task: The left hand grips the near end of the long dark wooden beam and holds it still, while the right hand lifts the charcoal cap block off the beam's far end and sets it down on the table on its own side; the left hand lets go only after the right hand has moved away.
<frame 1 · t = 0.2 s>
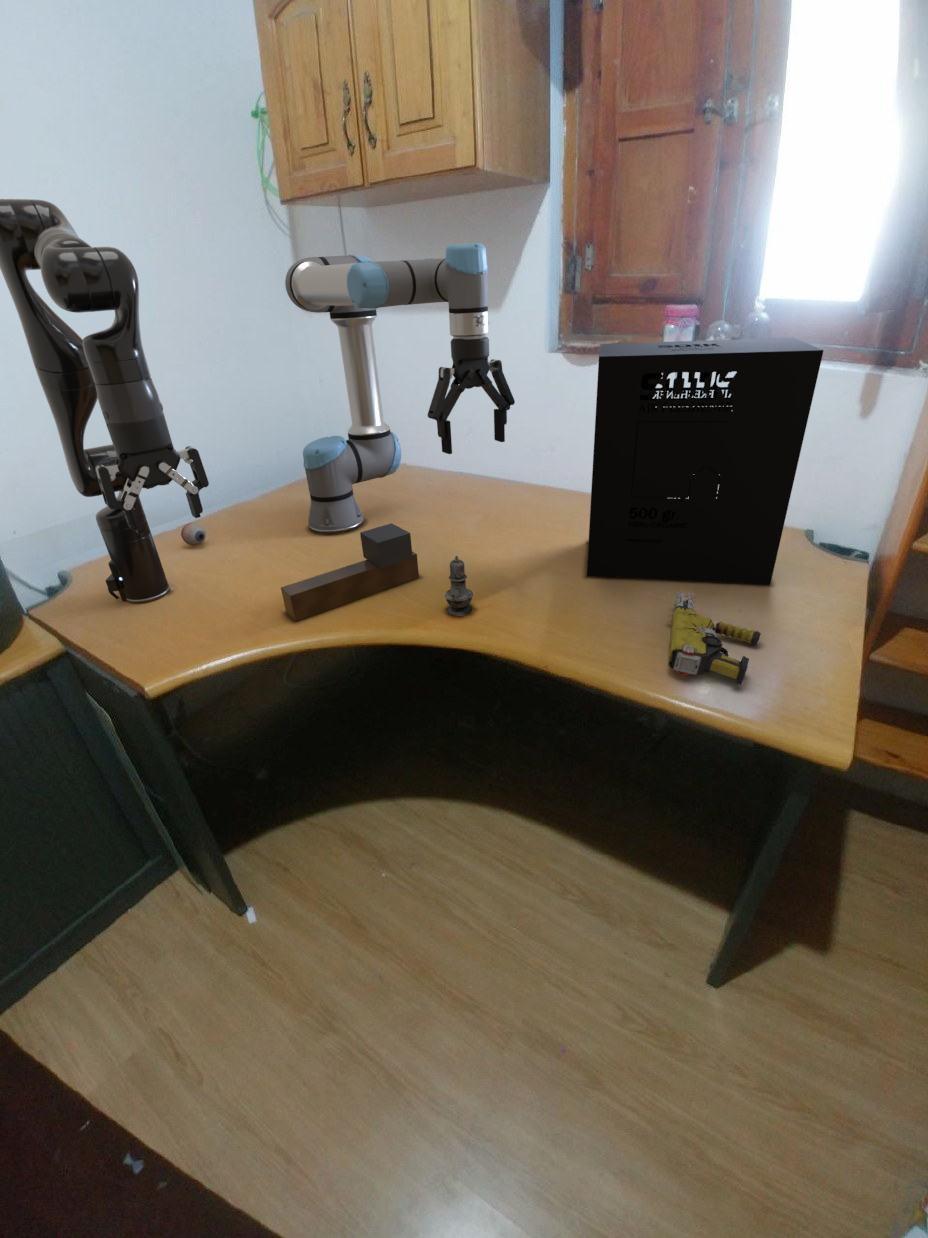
left hand: (168, 524, 92), 29 cm above the table, fingers open, 8 cm apart
right hand: (474, 446, 128), 28 cm above the table, fingers open, 13 cm apart
cardboard box: (671, 561, 138), on the table
toy gun: (713, 647, 107), on the table
eyeball: (197, 545, 162), on the table
dark wooden beam: (355, 594, 132), on the table, touching cap block
cap block: (388, 557, 133), point 6 cm above the table, touching dark wooden beam
salt shaker: (459, 610, 123), on the table
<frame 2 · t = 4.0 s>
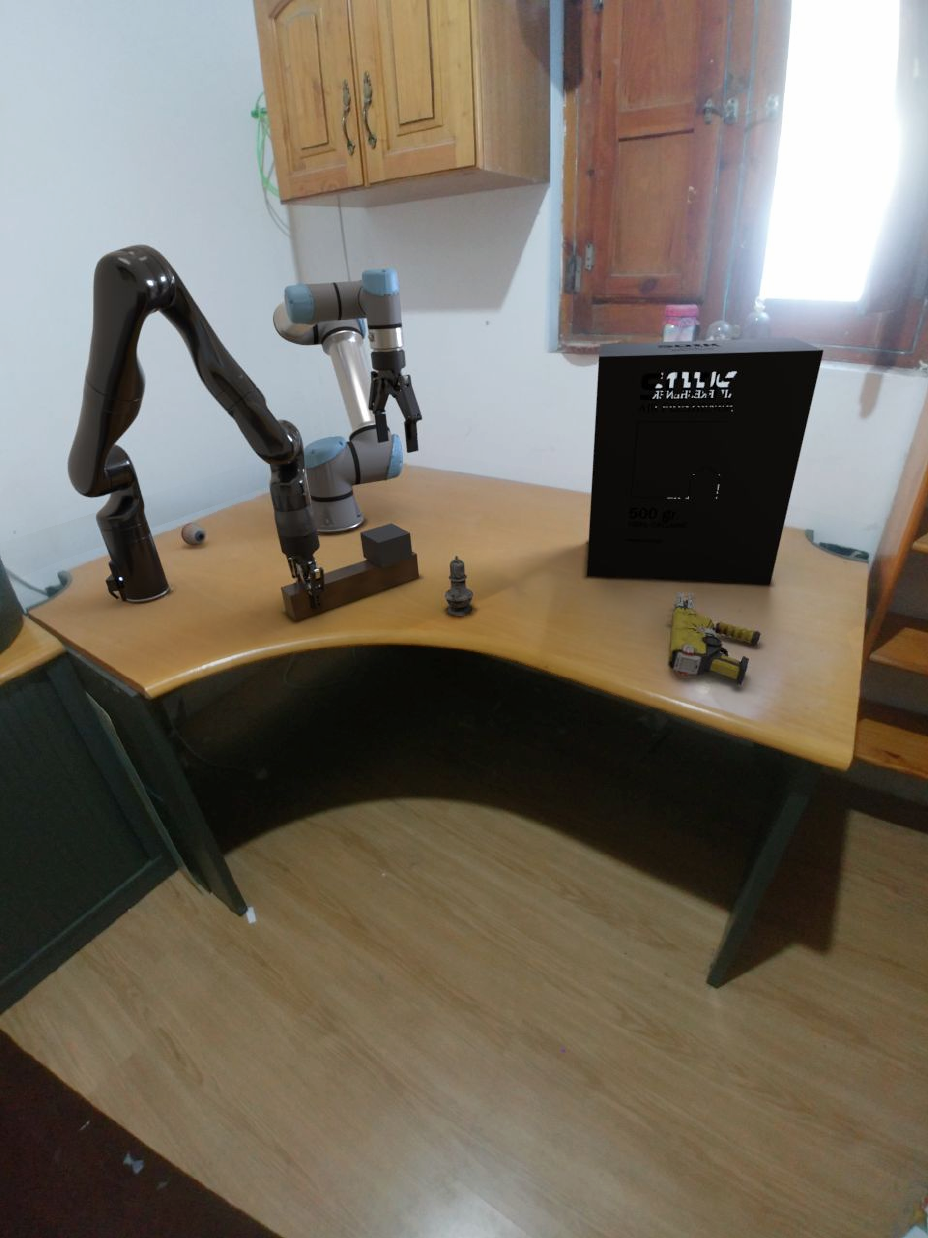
left hand: (312, 603, 126), 1 cm above the table, fingers closed on dark wooden beam, 5 cm apart
right hand: (397, 446, 143), 25 cm above the table, fingers open, 13 cm apart
dark wooden beam: (355, 594, 132), on the table, touching cap block, left hand
everything else where it was.
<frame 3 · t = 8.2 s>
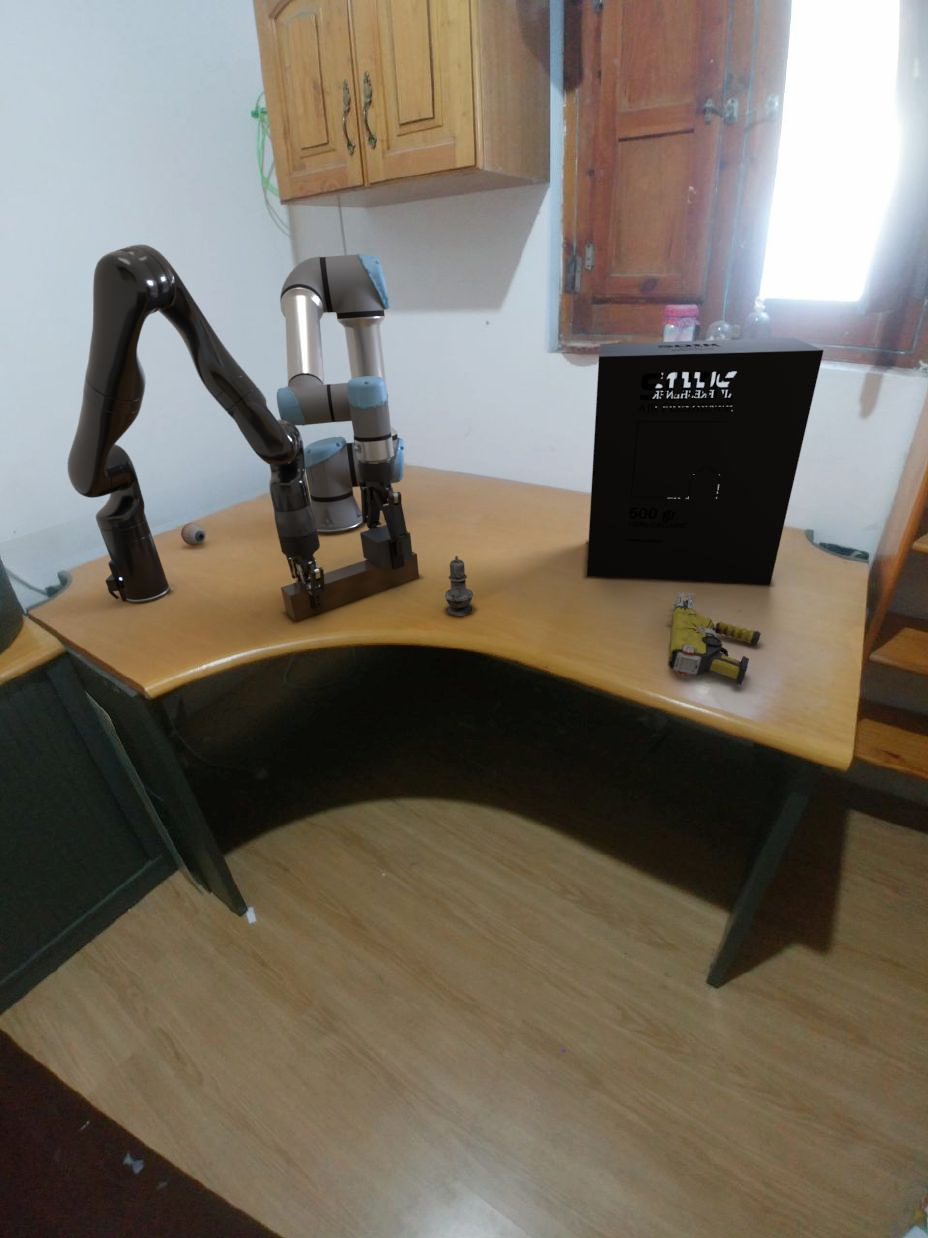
left hand: (312, 603, 126), 1 cm above the table, fingers closed on dark wooden beam, 5 cm apart
right hand: (388, 561, 134), 5 cm above the table, fingers closed on cap block, 8 cm apart
dark wooden beam: (355, 594, 132), on the table, touching cap block, left hand
cap block: (388, 557, 133), point 6 cm above the table, touching right hand, dark wooden beam
everything else where it was.
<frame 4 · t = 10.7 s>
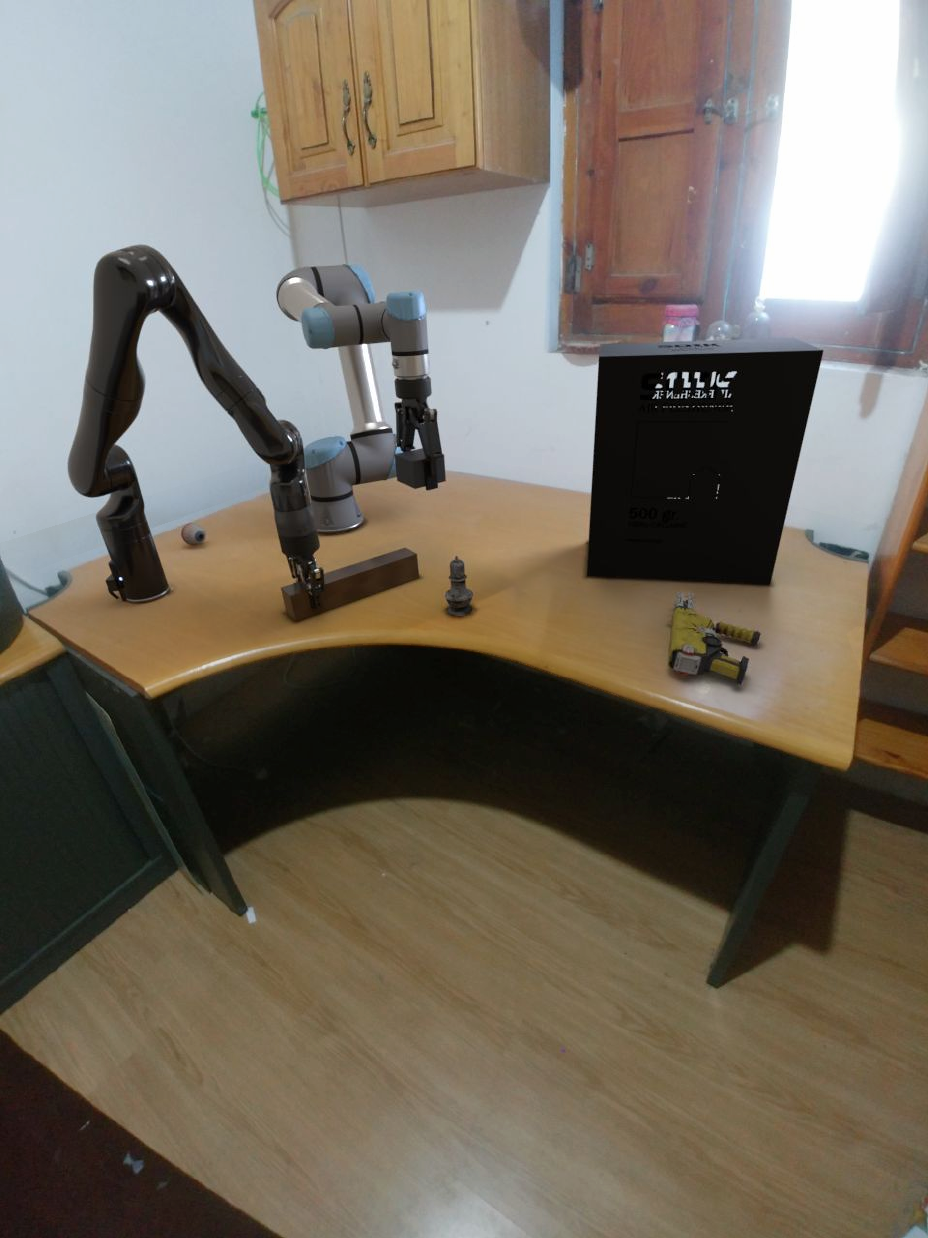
left hand: (312, 603, 126), 1 cm above the table, fingers closed on dark wooden beam, 5 cm apart
right hand: (421, 484, 135), 19 cm above the table, fingers closed on cap block, 8 cm apart
dark wooden beam: (355, 594, 132), on the table, touching left hand
cap block: (421, 481, 135), point 20 cm above the table, touching right hand
everything else where it was.
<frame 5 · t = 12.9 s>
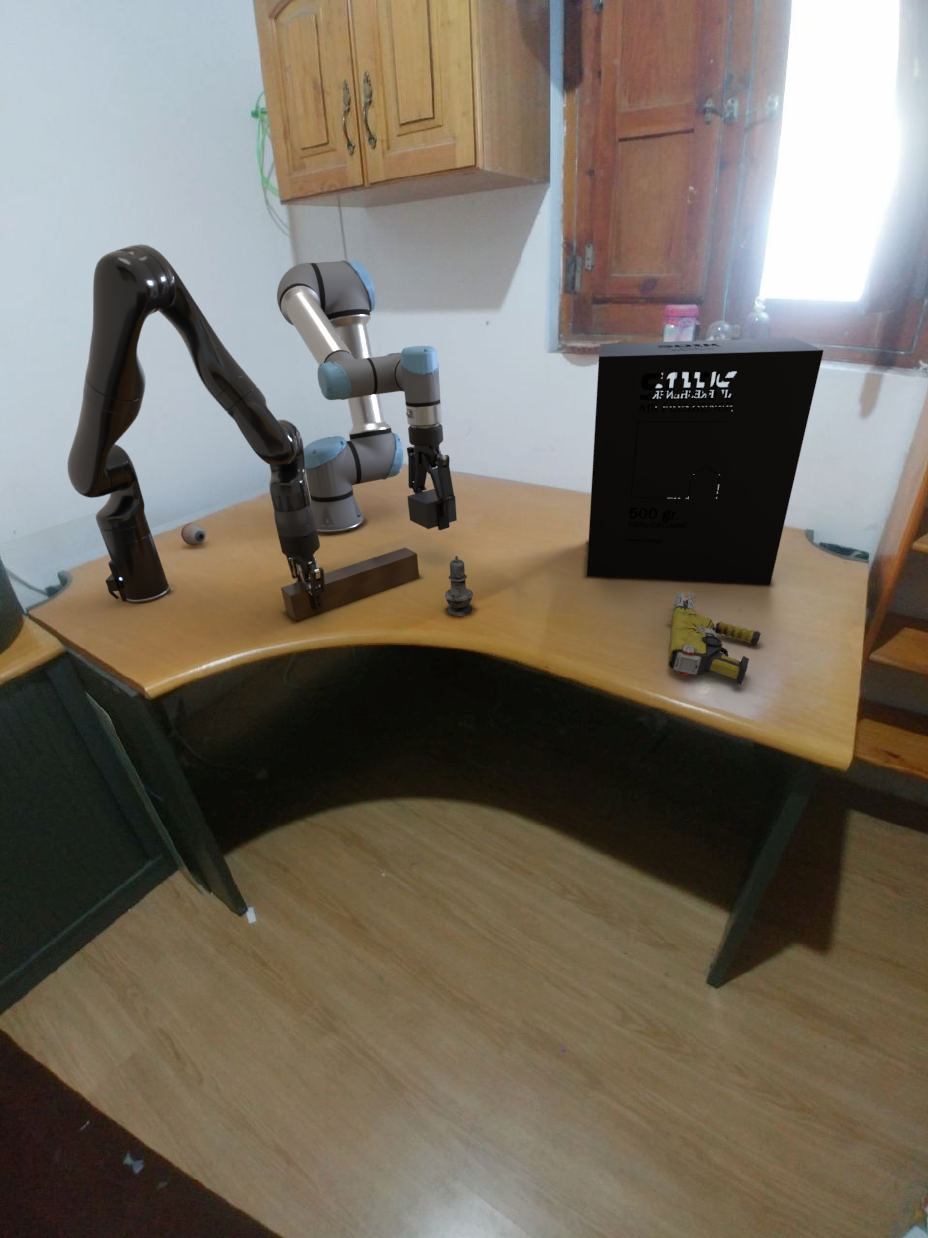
left hand: (312, 603, 126), 1 cm above the table, fingers closed on dark wooden beam, 5 cm apart
right hand: (433, 523, 142), 9 cm above the table, fingers closed on cap block, 8 cm apart
dark wooden beam: (355, 594, 132), on the table, touching left hand
cap block: (433, 520, 142), point 10 cm above the table, touching right hand
everything else where it was.
when the right hand's fingers open (2 cm above the table, at t = 14.7 s): cap block drops 3 cm, on the table.
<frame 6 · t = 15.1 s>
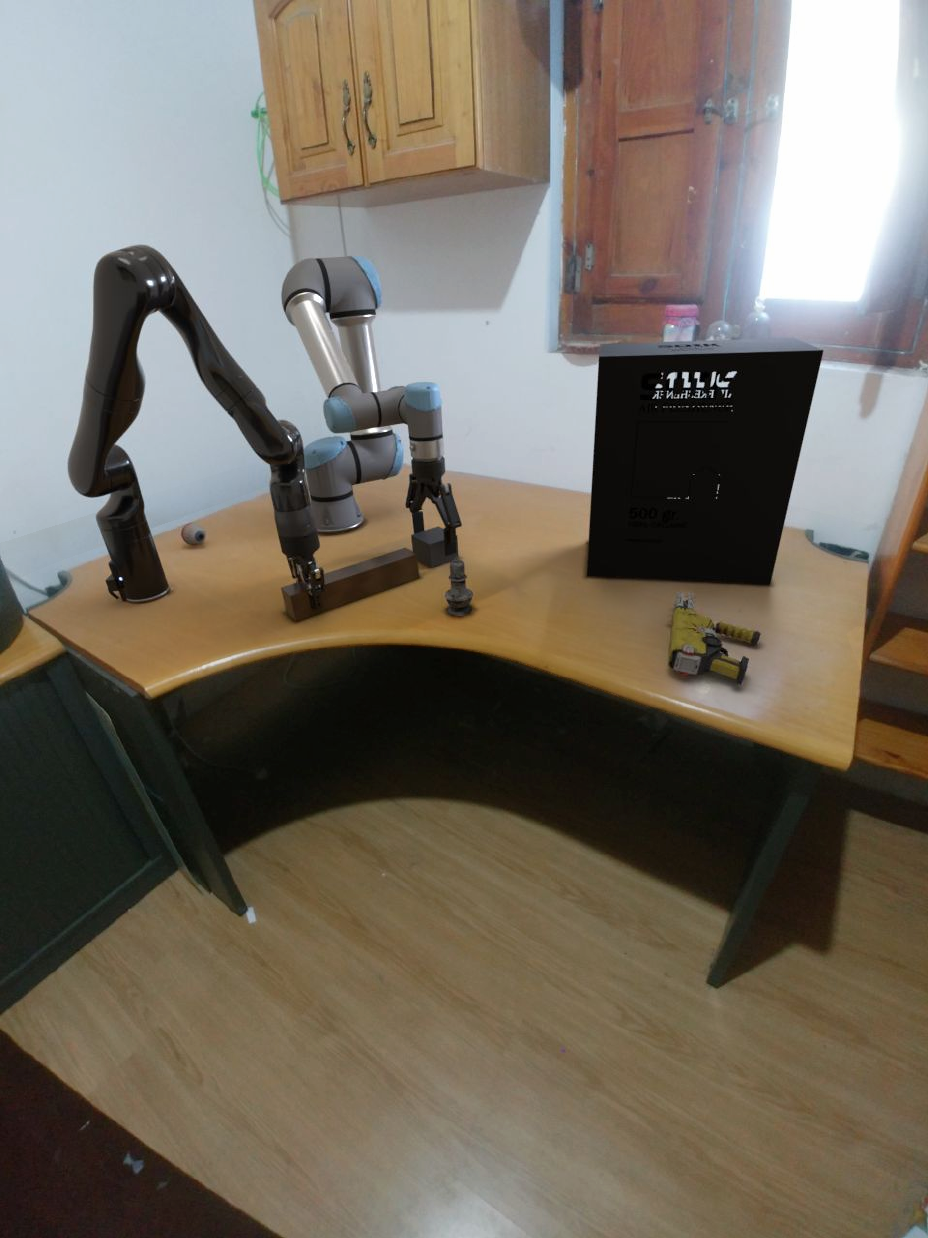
left hand: (312, 603, 126), 1 cm above the table, fingers closed on dark wooden beam, 5 cm apart
right hand: (434, 545, 145), 3 cm above the table, fingers open, 13 cm apart
dark wooden beam: (355, 594, 132), on the table, touching left hand
cap block: (435, 557, 147), on the table
everything else where it was.
when the left hand's fingers open (1 cm above the table, at t = 17.9 s): dark wooden beam stays where it is, on the table.
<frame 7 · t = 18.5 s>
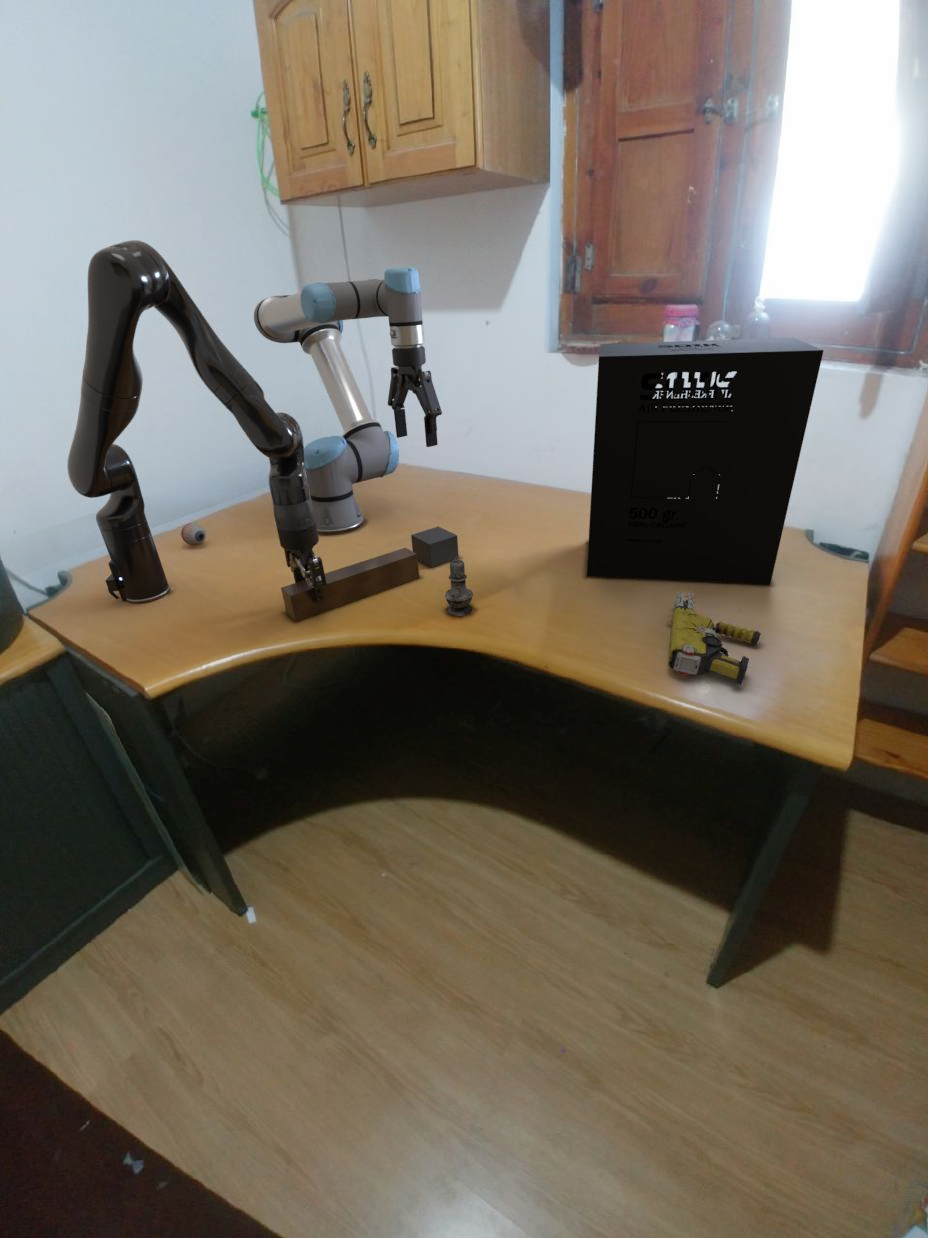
left hand: (310, 595, 126), 3 cm above the table, fingers open, 8 cm apart
right hand: (416, 441, 147), 25 cm above the table, fingers open, 13 cm apart
dark wooden beam: (355, 594, 132), on the table
everything else where it was.
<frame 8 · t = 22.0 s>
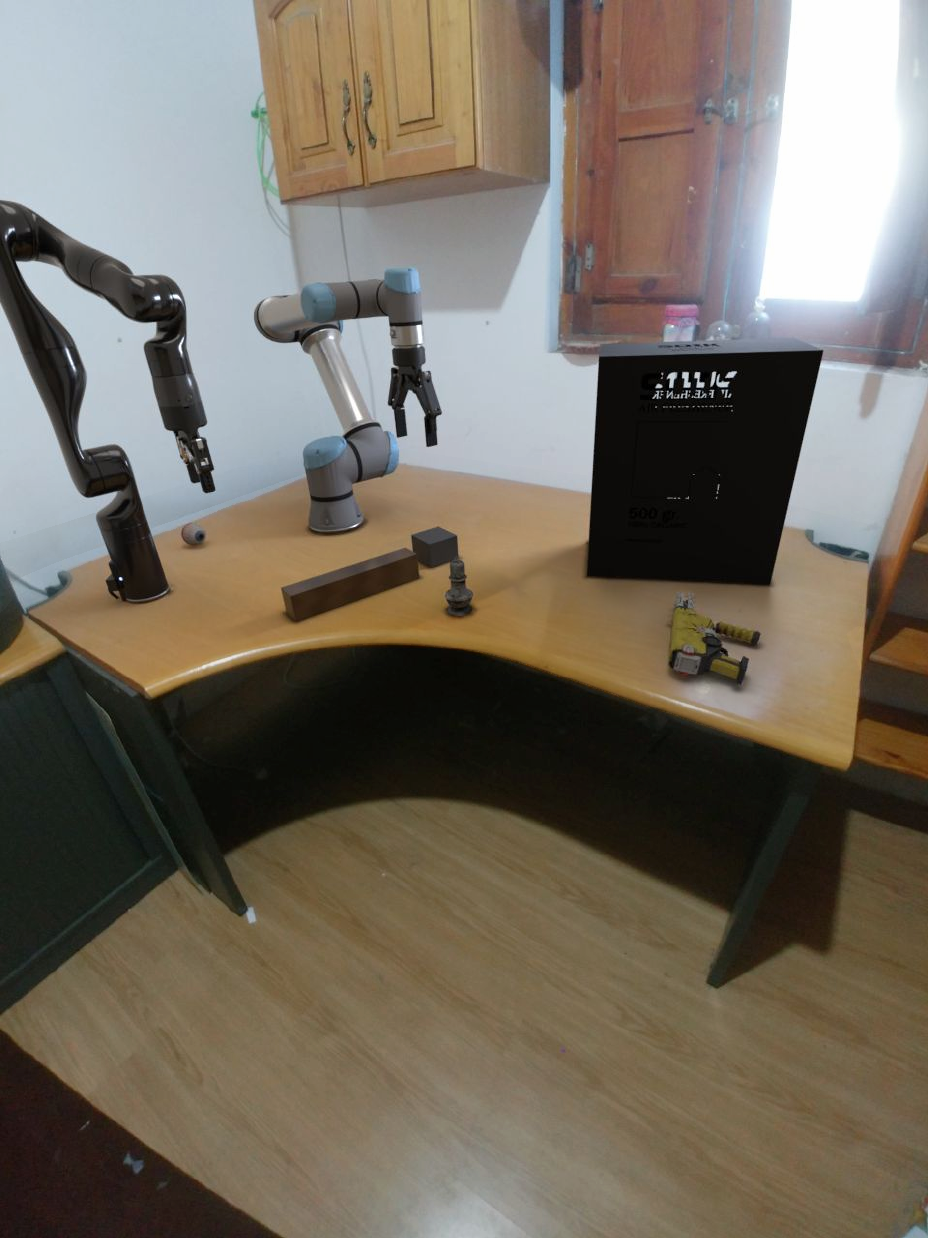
left hand: (203, 487, 118), 26 cm above the table, fingers open, 8 cm apart
right hand: (416, 441, 147), 25 cm above the table, fingers open, 13 cm apart
nothing on the table moved.
at the end: cap block inside the target area (0.0 cm from its centre), on the table; dark wooden beam moved 0.1 cm from its start; the left hand is holding nothing; the right hand is holding nothing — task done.
